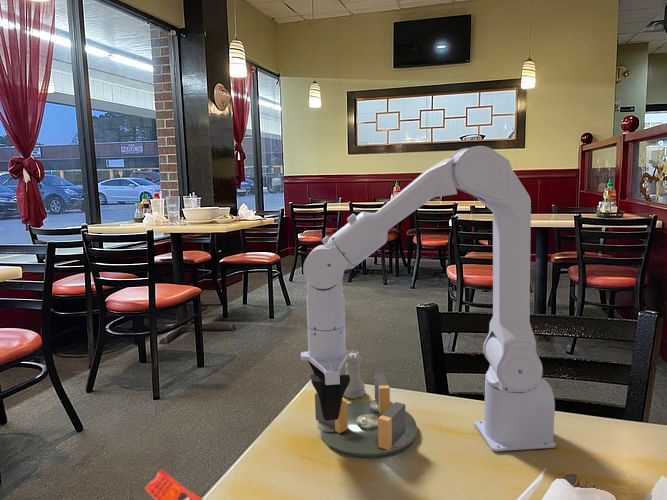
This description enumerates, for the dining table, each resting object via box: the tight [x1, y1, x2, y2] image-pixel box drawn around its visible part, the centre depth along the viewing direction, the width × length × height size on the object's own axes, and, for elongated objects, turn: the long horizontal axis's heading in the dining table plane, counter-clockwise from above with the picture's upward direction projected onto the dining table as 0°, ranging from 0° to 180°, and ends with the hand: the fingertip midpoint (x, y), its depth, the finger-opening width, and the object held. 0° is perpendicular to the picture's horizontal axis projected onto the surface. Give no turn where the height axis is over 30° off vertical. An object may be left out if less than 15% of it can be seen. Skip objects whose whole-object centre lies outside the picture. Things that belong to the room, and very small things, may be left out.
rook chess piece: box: [343, 349, 366, 400], centre depth 91 cm, size 4×4×8 cm
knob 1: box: [314, 392, 348, 433], centre depth 77 cm, size 6×4×5 cm
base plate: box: [320, 401, 417, 460], centre depth 78 cm, size 15×15×2 cm
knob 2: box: [378, 401, 407, 450], centre depth 73 cm, size 6×4×5 cm
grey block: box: [370, 373, 394, 414], centre depth 83 cm, size 6×4×5 cm
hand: (328, 408), depth 77 cm, fingers closed on knob 1, 5 cm apart
